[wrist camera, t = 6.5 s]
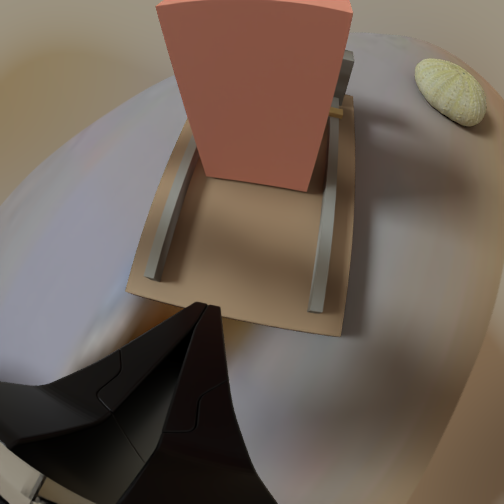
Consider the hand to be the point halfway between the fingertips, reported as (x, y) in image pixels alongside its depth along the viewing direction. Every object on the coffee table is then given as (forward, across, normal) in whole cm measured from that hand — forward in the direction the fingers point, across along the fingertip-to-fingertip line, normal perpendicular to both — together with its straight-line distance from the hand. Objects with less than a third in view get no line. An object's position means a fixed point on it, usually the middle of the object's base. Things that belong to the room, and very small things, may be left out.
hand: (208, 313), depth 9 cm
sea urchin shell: (+23, -18, -14) cm, 32 cm away
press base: (+11, 0, -2) cm, 11 cm away
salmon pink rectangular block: (+11, 0, -5) cm, 12 cm away
